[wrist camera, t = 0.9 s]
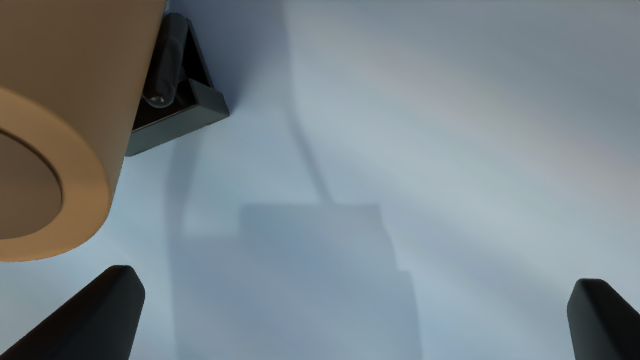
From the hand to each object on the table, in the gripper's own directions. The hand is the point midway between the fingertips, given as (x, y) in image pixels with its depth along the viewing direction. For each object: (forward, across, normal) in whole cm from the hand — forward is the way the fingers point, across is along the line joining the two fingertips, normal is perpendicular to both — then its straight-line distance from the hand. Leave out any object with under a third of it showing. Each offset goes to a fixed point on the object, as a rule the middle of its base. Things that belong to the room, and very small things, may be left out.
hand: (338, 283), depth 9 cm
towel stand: (+13, +10, +2) cm, 17 cm away
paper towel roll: (+13, +10, +2) cm, 17 cm away
